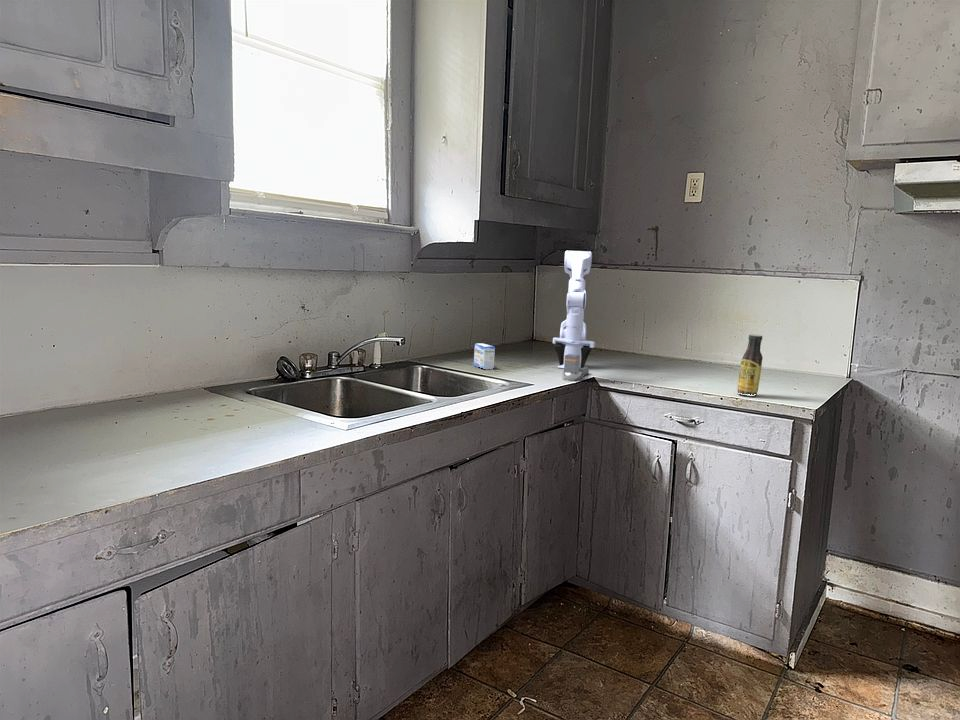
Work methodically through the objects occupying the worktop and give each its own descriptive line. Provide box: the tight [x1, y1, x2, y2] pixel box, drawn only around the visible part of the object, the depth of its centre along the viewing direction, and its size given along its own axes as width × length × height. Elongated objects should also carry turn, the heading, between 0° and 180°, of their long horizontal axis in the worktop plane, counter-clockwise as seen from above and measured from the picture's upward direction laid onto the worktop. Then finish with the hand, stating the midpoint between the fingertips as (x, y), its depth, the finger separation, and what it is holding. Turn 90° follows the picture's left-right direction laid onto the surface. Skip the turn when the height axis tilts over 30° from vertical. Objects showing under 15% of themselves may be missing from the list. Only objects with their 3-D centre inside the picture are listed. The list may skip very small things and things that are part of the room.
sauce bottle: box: [736, 333, 763, 395], centre depth 213 cm, size 7×6×20 cm
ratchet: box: [562, 366, 590, 382], centre depth 234 cm, size 18×6×5 cm, turn 153°
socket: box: [563, 354, 580, 374], centre depth 229 cm, size 4×4×6 cm
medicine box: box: [473, 342, 496, 370], centre depth 244 cm, size 8×4×9 cm, turn 28°
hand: (571, 366), depth 229 cm, fingers open, 7 cm apart
